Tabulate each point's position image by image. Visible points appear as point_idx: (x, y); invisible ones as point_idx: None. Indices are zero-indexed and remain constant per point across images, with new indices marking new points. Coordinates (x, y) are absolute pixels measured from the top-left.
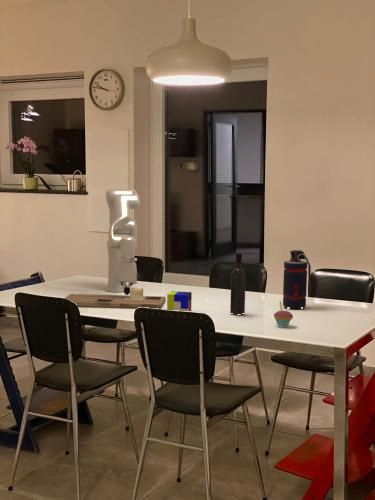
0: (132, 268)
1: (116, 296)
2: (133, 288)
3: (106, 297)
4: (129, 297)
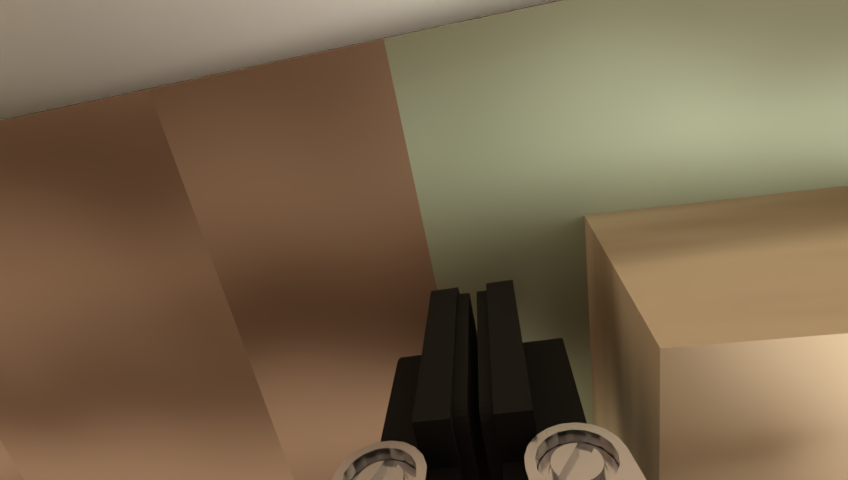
0: None
1: (208, 261)
2: (745, 477)
3: (98, 418)
4: (538, 290)
